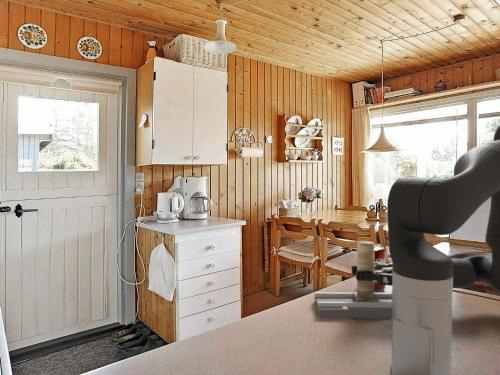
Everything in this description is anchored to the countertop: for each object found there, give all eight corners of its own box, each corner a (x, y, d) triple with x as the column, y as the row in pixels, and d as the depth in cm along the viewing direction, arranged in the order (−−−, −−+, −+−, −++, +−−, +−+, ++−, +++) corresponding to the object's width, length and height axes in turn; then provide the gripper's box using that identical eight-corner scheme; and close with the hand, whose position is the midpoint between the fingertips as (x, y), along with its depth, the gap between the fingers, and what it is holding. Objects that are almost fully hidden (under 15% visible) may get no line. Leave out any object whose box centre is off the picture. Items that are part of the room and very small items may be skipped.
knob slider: (357, 303, 86) (357, 245, 85) (352, 296, 91) (353, 240, 90) (378, 304, 86) (379, 245, 85) (373, 296, 91) (373, 240, 90)
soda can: (391, 290, 102) (391, 248, 102) (370, 293, 100) (370, 250, 99) (373, 282, 109) (373, 243, 108) (353, 285, 106) (353, 245, 106)
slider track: (319, 317, 85) (319, 305, 84) (314, 301, 94) (314, 290, 94) (425, 318, 83) (425, 306, 83) (408, 302, 93) (408, 291, 93)
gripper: (414, 250, 94) (347, 250, 95) (439, 265, 80) (361, 265, 81) (414, 279, 95) (347, 278, 96) (439, 299, 80) (361, 298, 81)
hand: (354, 272), depth 88 cm, fingers closed on knob slider, 4 cm apart
